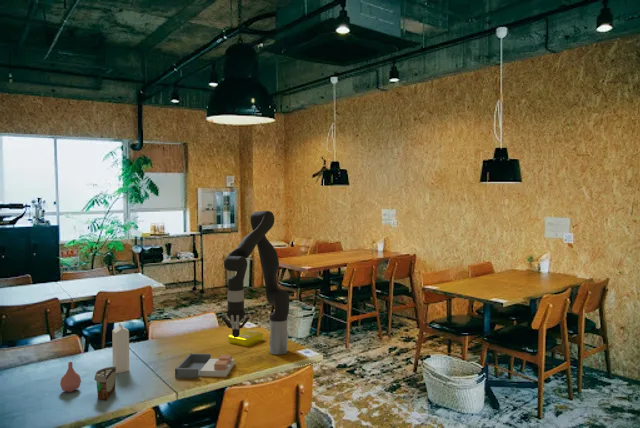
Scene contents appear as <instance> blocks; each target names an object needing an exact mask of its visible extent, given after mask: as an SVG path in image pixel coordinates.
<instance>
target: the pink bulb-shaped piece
mask: <svg viewBox="0 0 640 428" xmlns="http://www.w3.org/2000/svg"><path fill="white" fill-rule="evenodd" d="M67 365H68V366H67V367H68V368H67V370H66V373H65V374H63V376H62V377H61V378H60V382H59V383H60V384H59V385H60V387H61V390H62V391H63V392H68V393H72V392H74V391H75V390H77V389H79V388H80V386H81V383H82V379H81V376H80V374H79V373H77V372H76V371H75V370H74V368H73V361H69V362H68V364H67Z"/></svg>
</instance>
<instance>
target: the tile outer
mask: <svg viewBox="0 0 640 428" xmlns="http://www.w3.org/2000/svg"><path fill="white" fill-rule="evenodd" d="M227 366H228V361H216V363H215V364H214V370H225V369H226V368H227Z"/></svg>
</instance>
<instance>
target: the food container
mask: <svg viewBox="0 0 640 428" xmlns="http://www.w3.org/2000/svg"><path fill="white" fill-rule="evenodd" d="M116 374H117V373H116V367H113V366H109V367H105V368H101V369H99V370H97V371H96V372H95V375H94V379H93V380H94V381H95V382H96V392H97V399H98V400H100V401H108V400H109V399H110V398H111V397H112V396H113V394H114V393H115V392H116V376H117V375H116Z"/></svg>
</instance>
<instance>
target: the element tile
mask: <svg viewBox="0 0 640 428" xmlns="http://www.w3.org/2000/svg"><path fill="white" fill-rule="evenodd" d="M227 341H228V343H229V344H233V345H237V346H241V347H250V346H253V345H256V344H257V343H259V342H263V341H264V333H263V332H260V331H253V330H249V329H242V330H241V329H240V335H239V336H238V337H234V336H233V335H232V333H230V334H228V336H227Z"/></svg>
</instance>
